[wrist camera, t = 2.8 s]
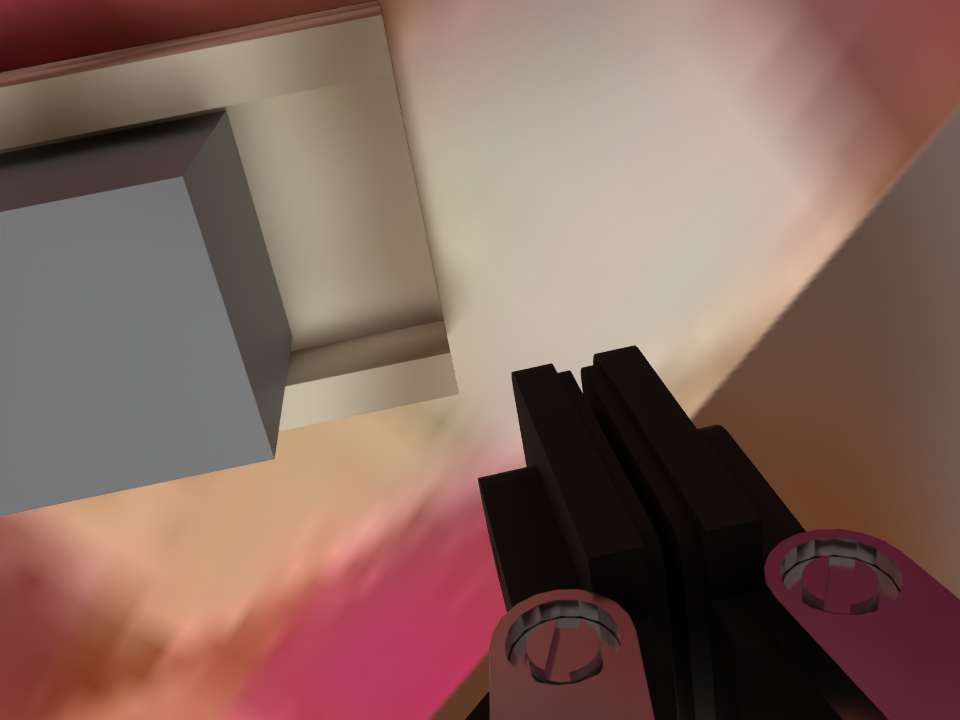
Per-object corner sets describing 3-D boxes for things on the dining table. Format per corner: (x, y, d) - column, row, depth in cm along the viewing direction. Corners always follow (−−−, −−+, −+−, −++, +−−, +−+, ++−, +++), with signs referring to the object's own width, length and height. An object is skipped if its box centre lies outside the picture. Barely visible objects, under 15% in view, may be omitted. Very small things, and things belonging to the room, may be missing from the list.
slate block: (226, 110, 21) (183, 176, 16) (292, 336, 24) (274, 458, 19) (-30, 159, 21) (-162, 244, 16) (66, 383, 24) (-18, 519, 18)
